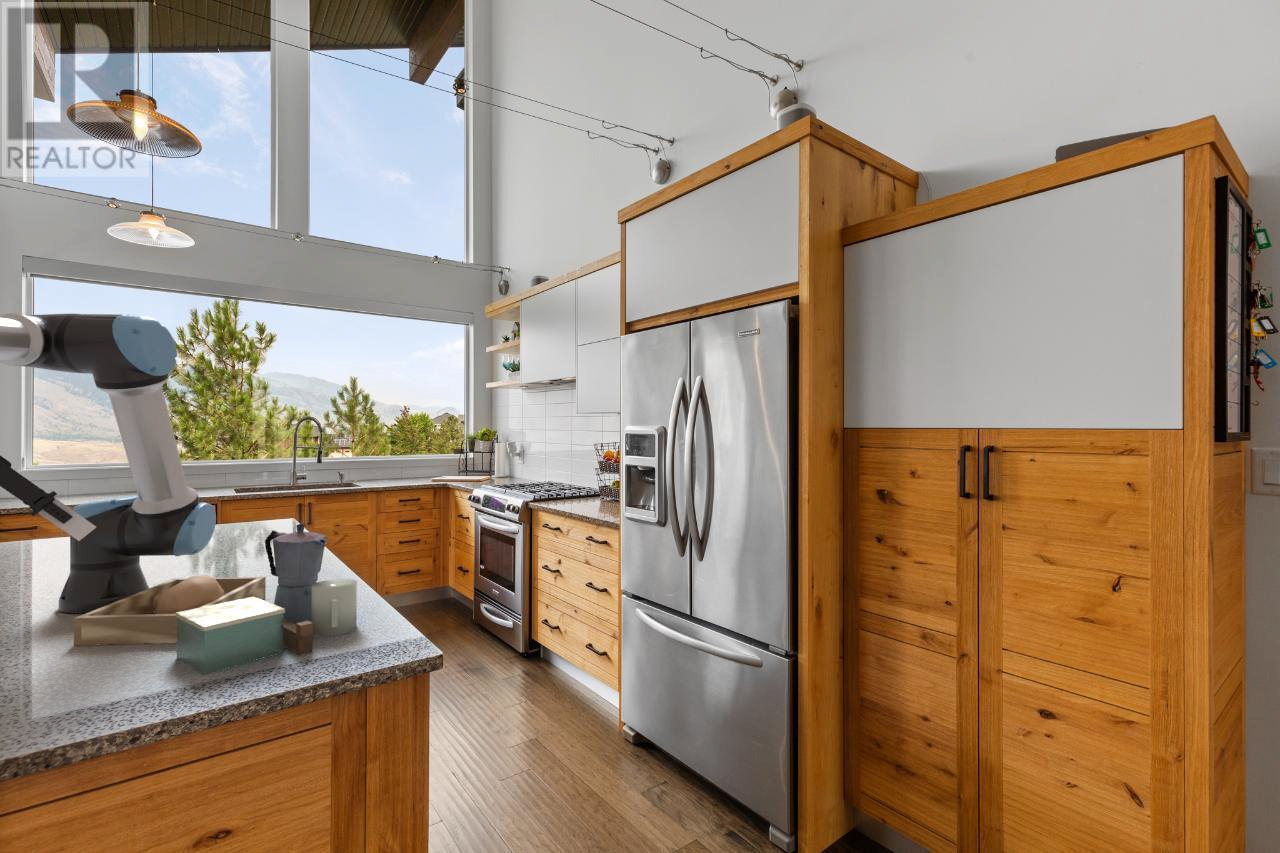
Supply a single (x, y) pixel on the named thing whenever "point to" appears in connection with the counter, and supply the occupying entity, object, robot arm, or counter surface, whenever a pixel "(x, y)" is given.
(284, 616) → the moka pot
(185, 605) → the squash
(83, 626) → the pine crate
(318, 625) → the sage mug
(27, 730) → the counter surface
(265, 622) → the green tea tin
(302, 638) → the walnut stop rail
